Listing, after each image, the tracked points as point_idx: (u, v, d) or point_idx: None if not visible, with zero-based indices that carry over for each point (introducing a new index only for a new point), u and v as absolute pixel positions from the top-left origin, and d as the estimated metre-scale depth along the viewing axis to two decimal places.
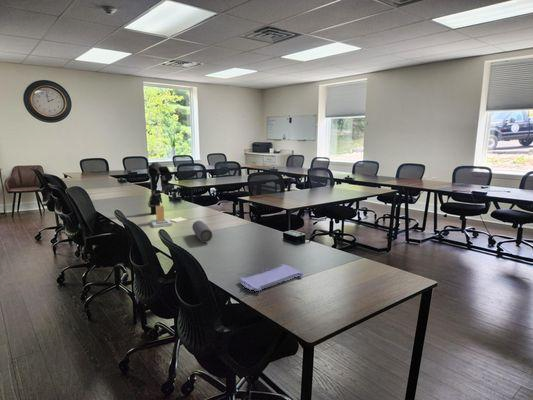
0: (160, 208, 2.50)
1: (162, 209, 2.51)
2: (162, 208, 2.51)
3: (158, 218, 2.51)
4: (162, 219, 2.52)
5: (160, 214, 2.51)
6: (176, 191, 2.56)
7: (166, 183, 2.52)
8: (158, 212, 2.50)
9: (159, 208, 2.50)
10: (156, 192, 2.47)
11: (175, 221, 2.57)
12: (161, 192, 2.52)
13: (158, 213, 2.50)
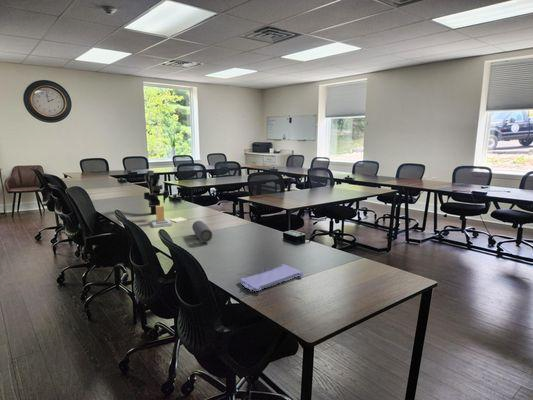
0: (160, 208, 2.50)
1: (162, 209, 2.51)
2: (162, 208, 2.51)
3: (158, 218, 2.51)
4: (162, 219, 2.52)
5: (160, 214, 2.51)
6: (166, 193, 2.63)
7: None
8: (158, 212, 2.50)
9: (159, 208, 2.50)
10: (145, 193, 2.57)
11: (175, 221, 2.57)
12: (151, 195, 2.61)
13: (158, 213, 2.50)
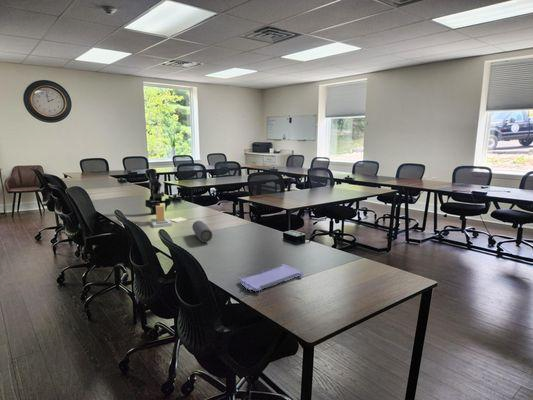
0: (160, 208, 2.50)
1: (162, 209, 2.51)
2: (162, 208, 2.51)
3: (158, 218, 2.51)
4: (162, 219, 2.52)
5: (160, 214, 2.51)
6: (167, 200, 2.58)
7: None
8: (158, 212, 2.50)
9: (159, 208, 2.50)
10: (146, 201, 2.52)
11: (175, 221, 2.57)
12: (153, 202, 2.56)
13: (158, 213, 2.50)
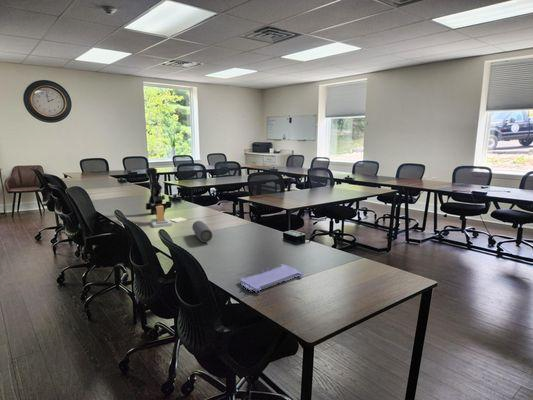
0: (160, 208, 2.50)
1: (162, 209, 2.51)
2: (162, 208, 2.51)
3: (158, 218, 2.51)
4: (162, 219, 2.52)
5: (160, 214, 2.51)
6: (168, 203, 2.56)
7: None
8: (158, 212, 2.50)
9: (159, 208, 2.50)
10: (147, 204, 2.50)
11: (175, 221, 2.57)
12: None
13: (158, 213, 2.50)
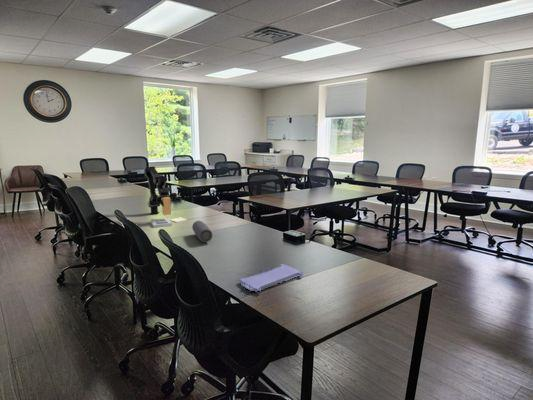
0: (167, 199, 2.52)
1: (169, 200, 2.53)
2: (169, 199, 2.52)
3: (165, 209, 2.52)
4: (169, 210, 2.54)
5: (166, 205, 2.52)
6: (174, 194, 2.58)
7: None
8: (165, 203, 2.51)
9: (166, 199, 2.51)
10: (153, 196, 2.50)
11: (175, 221, 2.57)
12: None
13: (165, 204, 2.51)
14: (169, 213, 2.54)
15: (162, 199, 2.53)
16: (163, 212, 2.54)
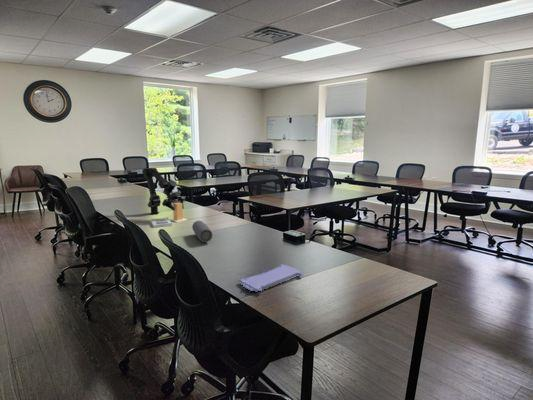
0: (179, 205, 2.59)
1: (181, 205, 2.60)
2: (181, 205, 2.60)
3: (178, 215, 2.59)
4: (181, 215, 2.61)
5: (179, 211, 2.59)
6: (183, 198, 2.66)
7: (172, 192, 2.63)
8: (178, 209, 2.58)
9: (179, 205, 2.58)
10: (166, 200, 2.55)
11: (175, 221, 2.57)
12: None
13: (178, 210, 2.58)
14: (181, 218, 2.62)
15: (174, 205, 2.59)
16: (175, 217, 2.61)
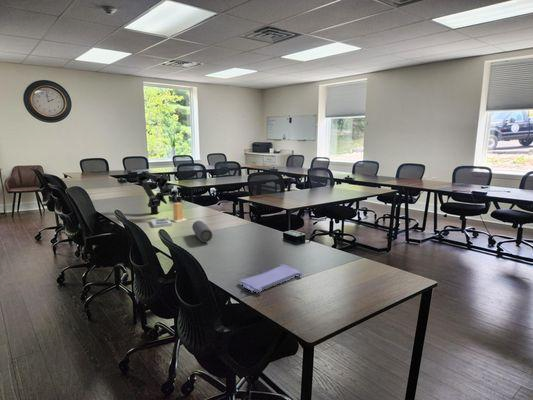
0: (179, 205, 2.59)
1: (181, 205, 2.60)
2: (181, 205, 2.60)
3: (178, 215, 2.59)
4: (181, 215, 2.62)
5: (179, 211, 2.59)
6: (176, 191, 2.71)
7: (164, 186, 2.68)
8: (178, 209, 2.58)
9: (179, 205, 2.58)
10: (159, 193, 2.60)
11: (175, 221, 2.57)
12: (163, 195, 2.65)
13: (178, 210, 2.59)
14: (181, 218, 2.62)
15: (174, 205, 2.59)
16: (175, 217, 2.61)
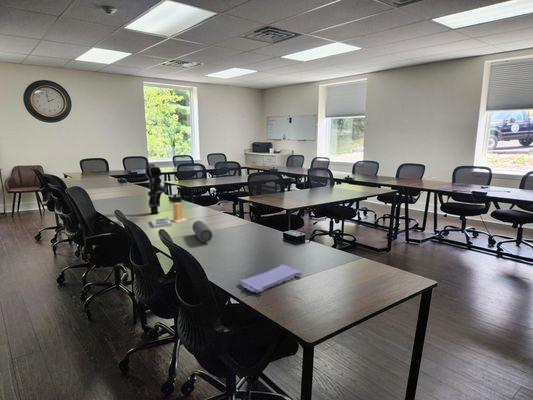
0: (179, 205, 2.59)
1: (181, 205, 2.60)
2: (181, 205, 2.60)
3: (178, 215, 2.59)
4: (181, 215, 2.62)
5: (179, 211, 2.59)
6: None
7: (159, 184, 2.64)
8: (178, 209, 2.58)
9: (179, 205, 2.58)
10: (155, 193, 2.57)
11: (175, 221, 2.57)
12: None
13: (178, 210, 2.59)
14: (181, 218, 2.62)
15: (174, 205, 2.59)
16: (175, 217, 2.61)
